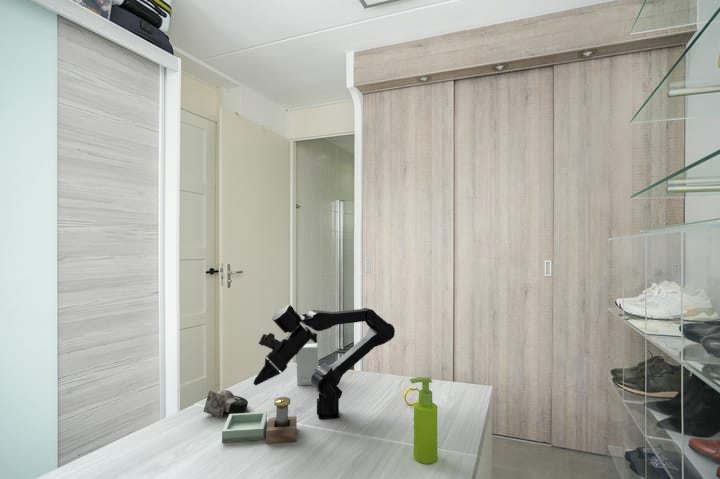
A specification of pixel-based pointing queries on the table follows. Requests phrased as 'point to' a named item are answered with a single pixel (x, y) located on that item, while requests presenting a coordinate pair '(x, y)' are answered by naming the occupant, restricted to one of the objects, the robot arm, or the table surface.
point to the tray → (244, 427)
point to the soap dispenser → (425, 424)
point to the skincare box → (307, 363)
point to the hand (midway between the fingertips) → (254, 383)
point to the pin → (282, 411)
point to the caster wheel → (224, 403)
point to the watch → (407, 392)
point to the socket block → (281, 431)
